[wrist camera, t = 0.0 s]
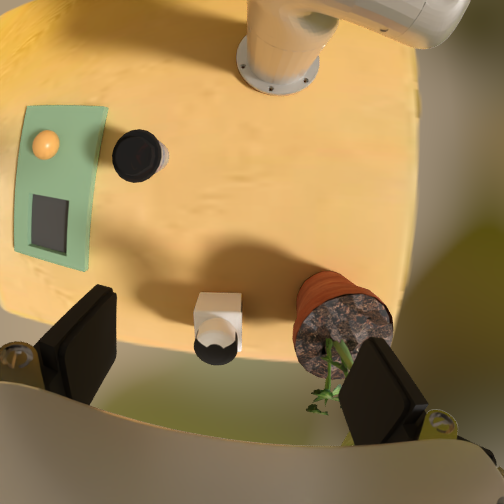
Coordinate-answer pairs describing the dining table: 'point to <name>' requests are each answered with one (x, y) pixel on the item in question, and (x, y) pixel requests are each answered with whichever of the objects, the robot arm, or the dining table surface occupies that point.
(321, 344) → the potted plant
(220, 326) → the medicine bottle
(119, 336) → the dining table surface
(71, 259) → the mat
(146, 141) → the coffee cup
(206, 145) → the dining table surface
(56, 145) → the orange ball
